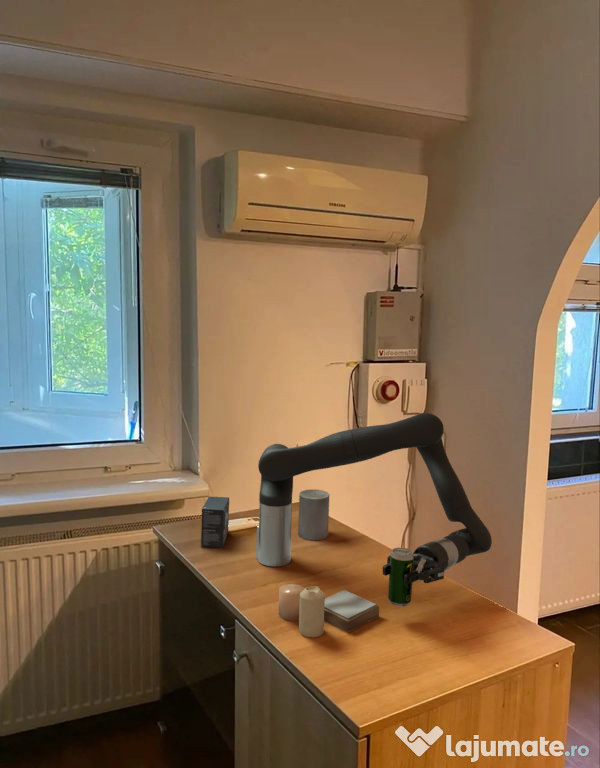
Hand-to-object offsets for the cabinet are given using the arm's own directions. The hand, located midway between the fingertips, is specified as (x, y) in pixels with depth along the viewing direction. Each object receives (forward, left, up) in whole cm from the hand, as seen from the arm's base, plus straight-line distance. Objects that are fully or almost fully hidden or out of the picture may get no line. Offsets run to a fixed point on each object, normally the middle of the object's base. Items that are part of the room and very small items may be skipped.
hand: (394, 575), depth 139 cm
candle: (-10, -16, -12) cm, 23 cm away
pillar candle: (-52, +27, -12) cm, 59 cm away
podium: (-10, -5, -12) cm, 16 cm away
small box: (-69, +1, -12) cm, 70 cm away
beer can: (0, +3, -7) cm, 8 cm away
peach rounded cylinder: (-19, -14, -12) cm, 26 cm away
